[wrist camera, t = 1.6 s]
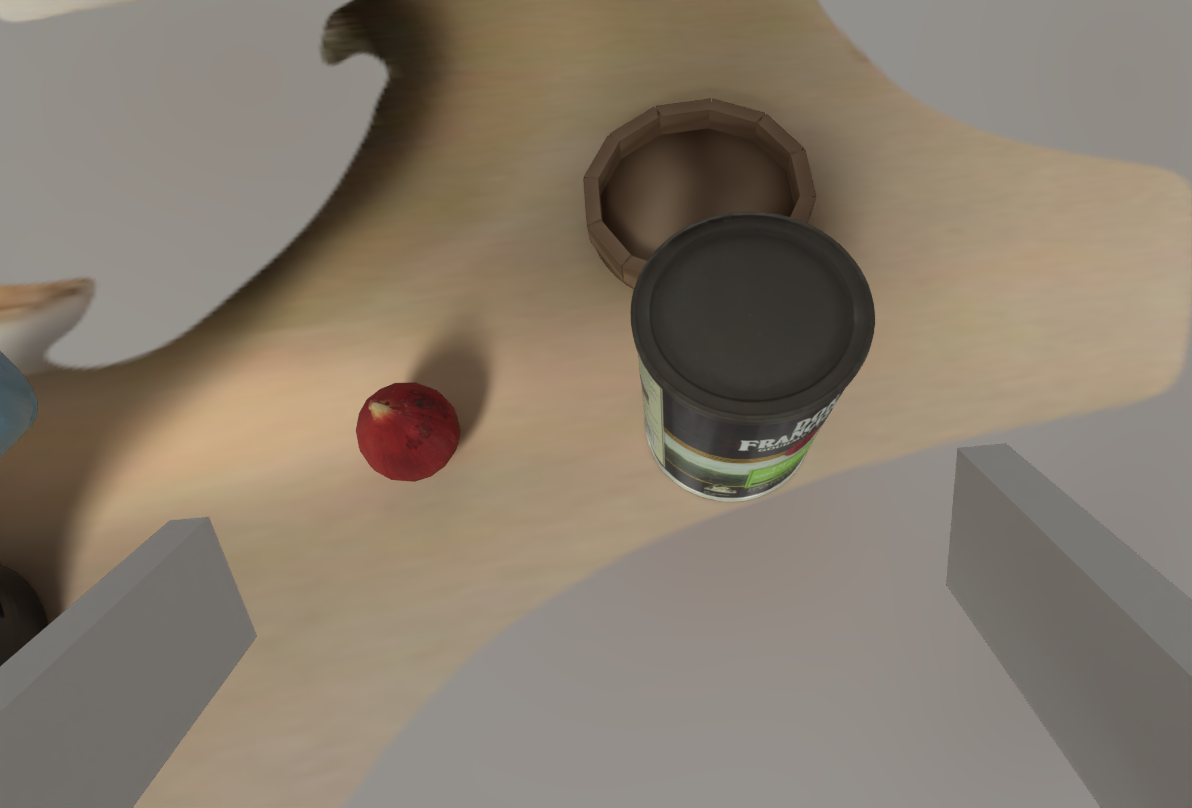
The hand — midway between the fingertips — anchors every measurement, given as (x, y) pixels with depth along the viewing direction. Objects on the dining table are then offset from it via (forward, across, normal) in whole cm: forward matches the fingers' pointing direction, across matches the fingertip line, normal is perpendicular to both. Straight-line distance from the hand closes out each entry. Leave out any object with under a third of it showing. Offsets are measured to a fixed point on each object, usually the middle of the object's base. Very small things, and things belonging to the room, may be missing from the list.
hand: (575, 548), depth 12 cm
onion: (+28, -13, -11) cm, 33 cm away
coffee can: (+29, +6, -11) cm, 31 cm away
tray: (+40, +6, +1) cm, 40 cm away
